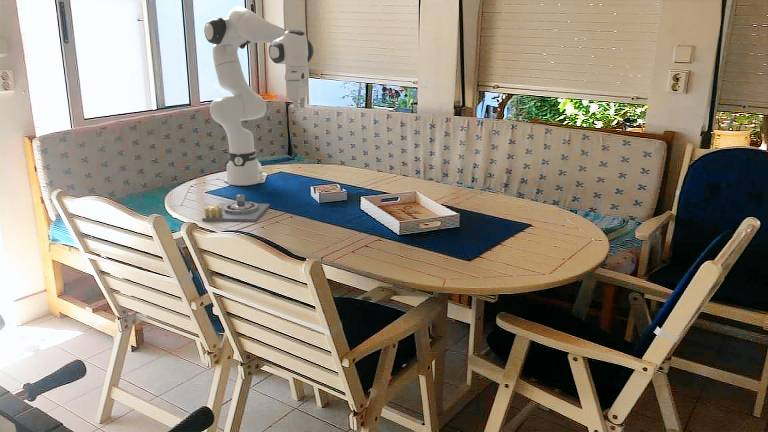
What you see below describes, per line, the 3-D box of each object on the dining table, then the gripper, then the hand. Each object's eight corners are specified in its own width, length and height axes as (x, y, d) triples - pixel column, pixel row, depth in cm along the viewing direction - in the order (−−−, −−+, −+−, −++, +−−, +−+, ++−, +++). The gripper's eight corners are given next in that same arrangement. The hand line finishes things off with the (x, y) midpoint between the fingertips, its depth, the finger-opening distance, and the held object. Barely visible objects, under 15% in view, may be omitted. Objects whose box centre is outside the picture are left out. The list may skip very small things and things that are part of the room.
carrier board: (220, 205, 252) (219, 195, 251) (269, 206, 250) (269, 196, 249) (201, 220, 233) (200, 210, 232) (255, 221, 231) (254, 211, 230)
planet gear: (234, 205, 247) (233, 192, 246) (255, 206, 247) (254, 192, 245) (227, 212, 239) (226, 198, 238) (248, 212, 239) (247, 198, 237)
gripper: (295, 71, 255) (297, 105, 259) (283, 75, 235) (285, 113, 240) (311, 71, 254) (312, 106, 258) (299, 75, 235) (301, 113, 239)
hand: (299, 109), depth 249 cm, fingers open, 8 cm apart
